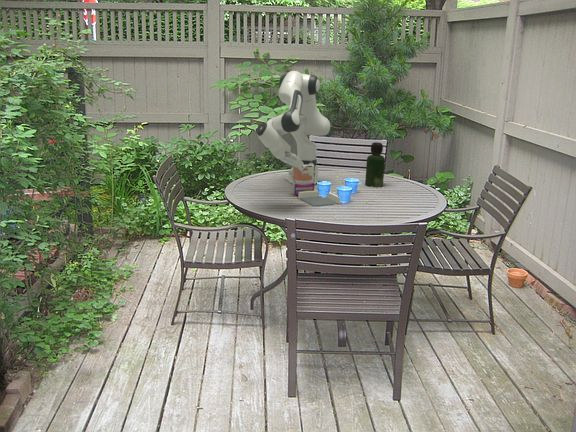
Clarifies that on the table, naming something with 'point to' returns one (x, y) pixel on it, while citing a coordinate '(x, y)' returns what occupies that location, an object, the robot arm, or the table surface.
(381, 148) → the dark green bottle
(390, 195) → the table surface
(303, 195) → the grey tray
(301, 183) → the candy bar box
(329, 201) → the slate mat
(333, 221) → the table surface
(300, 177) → the angle bracket
